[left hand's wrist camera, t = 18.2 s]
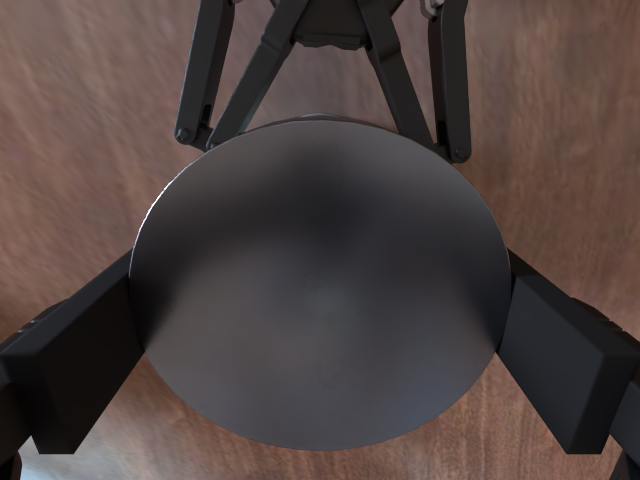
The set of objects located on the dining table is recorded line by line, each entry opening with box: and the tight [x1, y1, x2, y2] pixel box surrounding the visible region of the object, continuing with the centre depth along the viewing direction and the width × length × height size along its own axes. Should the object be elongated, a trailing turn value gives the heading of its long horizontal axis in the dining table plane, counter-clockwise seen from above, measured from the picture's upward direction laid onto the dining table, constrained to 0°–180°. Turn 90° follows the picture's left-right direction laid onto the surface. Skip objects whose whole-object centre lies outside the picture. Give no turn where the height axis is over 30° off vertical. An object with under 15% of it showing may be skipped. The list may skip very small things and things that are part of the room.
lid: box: [129, 116, 512, 451], centre depth 11 cm, size 11×11×2 cm
